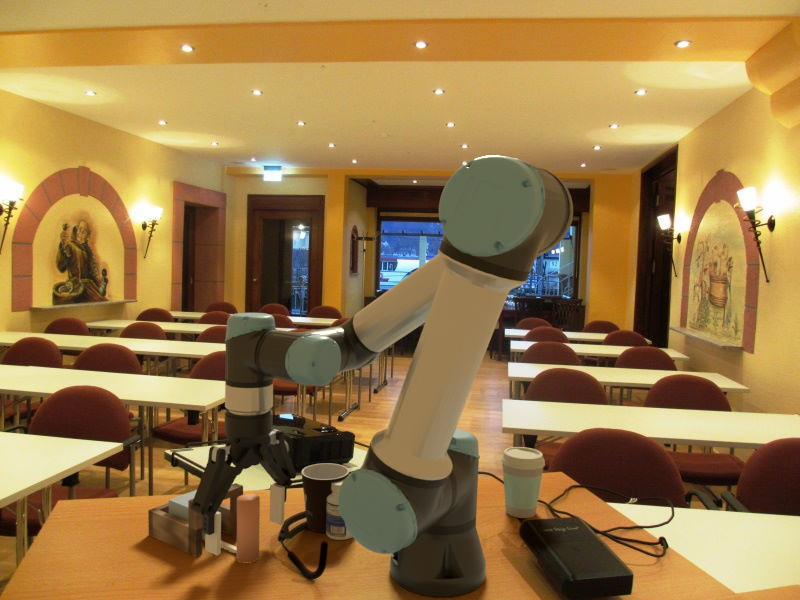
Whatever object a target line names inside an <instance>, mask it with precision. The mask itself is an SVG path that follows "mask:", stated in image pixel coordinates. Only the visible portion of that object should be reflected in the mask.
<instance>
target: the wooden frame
mask: <svg viewBox="0 0 800 600" xmlns="http://www.w3.org/2000/svg"><path fill="white" fill-rule="evenodd" d="M241 495H244V485H242V484H239V483H233V484H232V485H231V487H230V489H229V491H228V492H227V494H226V496H225V498H224V500H223V501H225V500H227V499H229V505H228V504H226V503H223V502H222V503H221V505H220V507H219V512H220V513H221V532H222V533H224V534H227V535H229V536H231V537H234V538H237V498H238V497H239V496H241ZM192 502H193V499H191V500H189V501H188V522H187V521H185V520H182V519H180V518H177V517H175V516H173V515H170V514H169V502H168V503H165V504H161V505H159V506H156V507H154V508H151V509H148V517H147V518H148V519H147V520H148V536H150V537H152V538H153V539H156V540H158V541H160V542H163V543H165V544H167V545H169V546H171V547H173V548H176V549H178V550H180V551H182V552H185V553H186V554H189V555H191V556H193V555H194V556H193V557H195V556H197V557H199V556H201V554H202V555H203V540H202V514H199V513H197V512H194V511H192V510H191V505H192ZM211 505H212V503H211Z"/></svg>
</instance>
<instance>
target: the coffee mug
mask: <svg viewBox="0 0 800 600" xmlns="http://www.w3.org/2000/svg"><path fill="white" fill-rule="evenodd" d="M349 475H350V469H349V468H348V467H347V466H345V465H341V464H338V463H330V462H328V463H327V462H326V463H323V462H322V463H316V464H311V465H308V466H305V467H304V468H302V470H301V479H302V481H301V482H302V490H303V500H304V509H305V519H306V520H305V521H306V525H307V524H308V527H307V528H308V529H309V530H311V531H313V532H318V533H326V510H327V497H328V496H329V495H330V494H332V490H331V484H332V483H334V482H339V481H342V480H344V479H345V478H346V477H347V476H349Z"/></svg>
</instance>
